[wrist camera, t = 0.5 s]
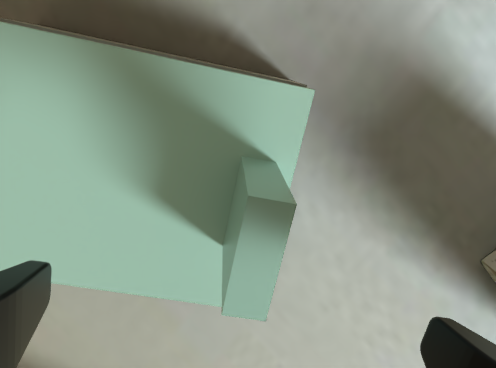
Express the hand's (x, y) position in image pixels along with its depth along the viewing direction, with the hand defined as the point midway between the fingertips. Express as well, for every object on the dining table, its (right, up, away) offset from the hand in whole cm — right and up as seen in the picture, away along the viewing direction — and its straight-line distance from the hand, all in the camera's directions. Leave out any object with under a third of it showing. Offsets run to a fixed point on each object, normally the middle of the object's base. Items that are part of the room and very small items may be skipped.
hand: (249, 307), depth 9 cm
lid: (-4, +3, +7) cm, 9 cm away
